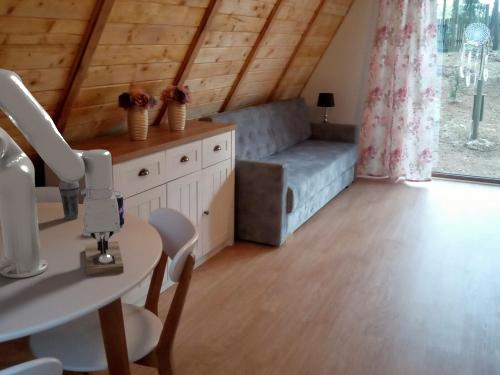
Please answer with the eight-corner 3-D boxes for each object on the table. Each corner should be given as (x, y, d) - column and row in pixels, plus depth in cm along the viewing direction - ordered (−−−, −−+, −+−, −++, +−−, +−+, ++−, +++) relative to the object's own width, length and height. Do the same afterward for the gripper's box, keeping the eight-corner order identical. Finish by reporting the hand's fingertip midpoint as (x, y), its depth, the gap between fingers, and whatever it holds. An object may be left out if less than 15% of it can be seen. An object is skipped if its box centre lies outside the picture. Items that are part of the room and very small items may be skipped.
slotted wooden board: (123, 272, 156) (123, 265, 156) (86, 276, 154) (86, 269, 153) (118, 247, 175) (118, 241, 174) (85, 250, 172) (85, 244, 171)
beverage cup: (56, 219, 201) (52, 165, 195) (71, 213, 207) (67, 161, 202) (71, 222, 197) (67, 167, 192) (86, 216, 204) (82, 163, 198)
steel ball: (104, 253, 162) (105, 266, 162) (94, 255, 158) (96, 269, 158) (114, 252, 160) (116, 266, 160) (105, 254, 156) (106, 268, 156)
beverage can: (122, 228, 191) (120, 195, 188) (105, 228, 192) (104, 195, 188) (126, 223, 197) (124, 191, 194) (110, 223, 197) (108, 190, 194)
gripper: (72, 198, 153) (76, 259, 158) (127, 194, 158) (129, 254, 162) (72, 191, 160) (76, 250, 165) (125, 187, 165) (127, 245, 169)
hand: (103, 252), depth 164 cm, fingers closed
